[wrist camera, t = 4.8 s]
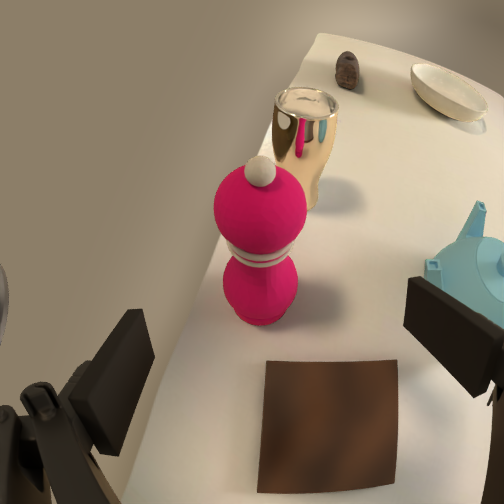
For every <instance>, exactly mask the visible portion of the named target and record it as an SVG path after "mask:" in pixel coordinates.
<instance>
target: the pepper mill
mask: <svg viewBox="0 0 504 504" xmlns="http://www.w3.org/2000/svg"><path fill="white" fill-rule="evenodd" d="M306 215H307V202H306V197H305V192H304V190H303V188H302V186H301V184H300V183H299V181H298V180H297V179H296V178H295V177H294V176H293V175H292V174H291V173H290V172H288V171H287V170H285V169H283V168H281V167H278V166H276V165H274V163H273V162H272V161H271V160H270V159H269V158H267V157H265V156H256V157H253V158H252V159H250V160H249V161H248V162H247V164H246V165H244V166H242V167H239V168H237V169H236V170H234V171H233V172H231V173H230V174H229V175H228V176H227V177H226V178H225V179H224V180H223V181H222V183H221V184H220V186H219V188H218V190H217V192H216V195H215V199H214V216H215V221H216V223H217V226H218V228H219V230H220V232H221V234H222V235H223V236H224V237H225V239H226V240H227V245H228V248H229V250H230V252H231V254H232V255H233V256H232V257H231V259H230V260H229V262H228V263H227V266H226V268H225V271H224V275H223V287H224V293H225V296H226V298H227V300H228V302H229V303H230V305H231V306H232V307H233V308H234V311H235V312H236V314H237V315H238V316H239V317H240V318H241V319H242V320H244V321H245V322H247V323H249V324H252V325H258V326H262V325H268V324H271V323H274V322H276V321H277V320H278V319H280V318H281V317H282V316H283V315H284V313H285V311H286V310H287V308H288V307H289V306H290V305H291V303H292V302H293V300H294V298H295V295H296V292H297V286H298V276H297V271H296V268H295V266H294V263H293V261H292V260H291V258H290V257H289V256H288V255H289V253H290V252H291V250H292V248H293V245H294V239H295V238H296V237H297V236H298V234H299V233H300V231H301V230H302V228H303V226H304V223H305V220H306Z"/></svg>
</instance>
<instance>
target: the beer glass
mask: <svg viewBox="0 0 504 504" xmlns="http://www.w3.org/2000/svg"><path fill="white" fill-rule="evenodd" d="M338 109H339V106H338V103H337V101H336V100H335V99H334V98H333V97H332V96H331V95H329V94H327V93H325V92H323V91H321V90H317V89H314V88H308V87H293V88H288V89H285V90H283V91H281V92H279V93H278V94H277V95H276V97H275V106H274V113H273V121H272V144H273V151H274V157H275V162H276V166H278V167H281V168H283V169H285V170H287V171H288V172H290V173H291V174H292V175H293V176H294V177H295V178H296V179H297V180H298V181H299V183H300V184H301V186H302V188H303V190H304V192H305V197H306V202H307V211H309V210H311V209H312V208H313V207H314V206H315V205H316V203H317V201H318V182H319V178H320V176H321V174H322V172H323V170H324V167H325V165H326V163H327V161H328V159H329V156H330V154H331V151H332V148H333V144H334V140H335V134H336V127H337V115H338Z"/></svg>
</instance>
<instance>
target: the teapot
mask: <svg viewBox="0 0 504 504" xmlns="http://www.w3.org/2000/svg"><path fill="white" fill-rule="evenodd" d="M486 212H487V211H486V208H485V205H484V203H483V202H480V201H476V203H475V205H474V207H473V209H472V211H471V213H470V215H469V217H468V219H467V221H466V223H465V225H464V227H463V229H462V231H461V232H460V234H459V236H458V238H457V240H456V241H455V242H454V243H452V244H450V245H448V246H447V247H445V248H444V249H442V250H441V251H440V252H439V253H438V254H437V255H436V256H435V257H434V259H426V260H425V271H424V279H425V280H427V281H429V282H430V283H432V284H433V285H435V286H437V287H438V288H440V289H441V290H443V291H444V292H446V293H448V294H449V295H451V296H452V297H454V298H455V299H457V300H458V301H460V302H461V303H463V304H464V305H466V306H468V307H469V308H471V309H472V310H474V311H475V312H478V313H481V314H482V315H484V316H485V317H487V318H488V320H489V319H490V320H491V321H493V322H494V324H497V325H498V326H500V327H501V328H503V329H504V243H503V242H502V241H500V240H498V239H496V238H492V237H483V230H484V223H485V215H486Z"/></svg>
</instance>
